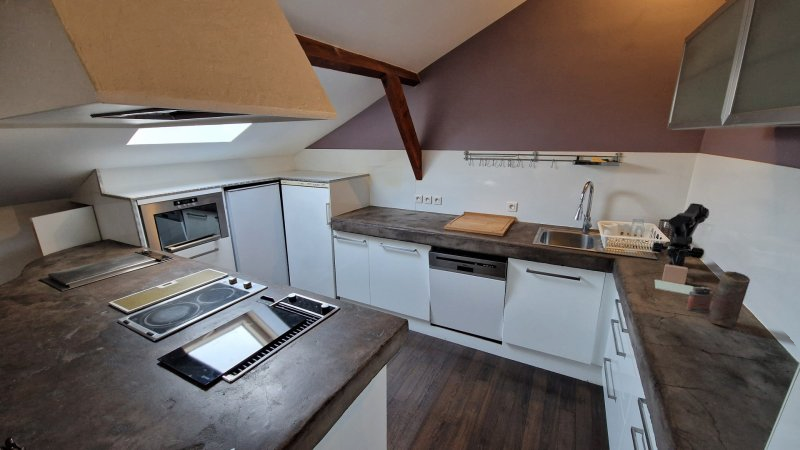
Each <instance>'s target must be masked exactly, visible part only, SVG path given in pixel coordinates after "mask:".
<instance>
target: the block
mask: <svg viewBox="0 0 800 450" xmlns="http://www.w3.org/2000/svg"><path fill="white" fill-rule="evenodd" d="M688 271H689V270H688V267H686V266H685V267H680V266H674V265H669V263H667V264H665V265H664V269H663V273H662V278H661V279H662V280H661V281H666V282H672V283H677V284H683V285H686V279H687V275H688Z"/></svg>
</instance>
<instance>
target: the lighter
mask: <svg viewBox="0 0 800 450" xmlns="http://www.w3.org/2000/svg"><path fill="white" fill-rule="evenodd" d="M693 287H694V286H693ZM711 291H712V289H711V287H704V286H701V287H700V286H695V287H694V288H693V291H691V292H689V294H690V295H688V300H687V304H686V305H685V310H687V311H689V312H694V313H695V312H696V313H710V311H711V309H710V306H711V303H712V300H713V297H714V293H713V292H711Z"/></svg>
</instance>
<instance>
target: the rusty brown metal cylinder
mask: <svg viewBox="0 0 800 450" xmlns="http://www.w3.org/2000/svg"><path fill="white" fill-rule="evenodd" d="M750 282H751V279H750V278H749V276H747V275H745V274H743V273H741V272H738V271H728V270H727V271H724V272H722V274H721V277H720V279H719V282H718V283H719V284H718V286H717V289H716V292H715V296H714V299H713V302H712V305H711V309H710V310H709V315H708V317H707V318H708V321H709V322H710V323H712V324H716V325H719V326H721V327H724V328H733V327H736V325H737V323H738V319H739V317H740V313H741V310H742V307H743V303H744V300H745V298H746V294H747V291H748V288H749V285H750Z"/></svg>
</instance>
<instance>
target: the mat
mask: <svg viewBox="0 0 800 450" xmlns="http://www.w3.org/2000/svg"><path fill="white" fill-rule="evenodd" d="M654 286H655V290H656V289H657V290H661V291H667V292H671V293H677V294H682V295H687V296H689V295H690V294H689V292H691V291H693V288H694V286H693V285H688V284H685V285H683V284H677V283H672V282H666V281H662V280H661V279H654Z"/></svg>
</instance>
